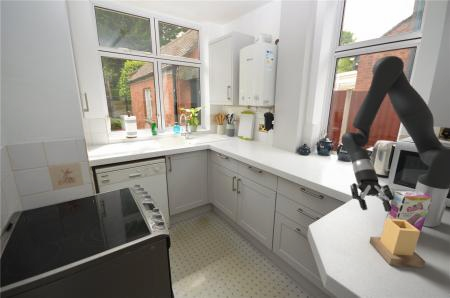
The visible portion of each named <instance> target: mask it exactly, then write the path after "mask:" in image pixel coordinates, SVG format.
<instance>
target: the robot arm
mask: <svg viewBox="0 0 450 298" xmlns="http://www.w3.org/2000/svg"><path fill="white" fill-rule="evenodd" d="M404 63H405V62H404V61H403V59H402V58H400V57H399V56H396V55H388V56H383V57H381V58H380V59H378V60H377V61H376V62H375V63H374V64H373V66H372V79H371V82H370V83H371V84H370V86H369V89H368V91H367V93H366V95H365V98H364V99H363V101H362V103H361V105H360V106H359V108H358V111H357V113H356V114H355V117H354V119H353V122H352V127H354V128H355V129H356V130H358V132H353V131H350V132H349V131H348V132H345V133H344V134H342V136H341V145H342V146H343V148H344V149H345V152H346V153H347V154H348V155H349V157H350V161H351V164H352V170H353V174H354V177H355V180H356V183H355V182H354V183H352V184H350V191H351V196H352V197H351V198H352V199H354V200H357V201H358V202H359V206H360V209H361V210H362V211H367V210H368V206H367V201H366V199H365V198H366V196H367V197H369V196H371V197H376V198H377V199H379V200H380V201H382V205H383V208H384V211H385V212H387V213H388V212H389V211H391V206H390V204H391V200H393V199H394V197H393V193H392V190H391V188H390V185H388V184H385V185H381V184H380V182H379V177H378V174H377V171H376V169H375V165H374V164H373V161H372V160H371V157H370V153H369V151H368V150H367V149H365V148H364V147H366V146H367V145H368V143H369V141H370V133H371V127H372V126H373V123H374V121H375V119H376V117H377V116H378V115H377V114H378V112H379V110H380V108H381V106H382V104H383V101H384V100H385V98H386V96H388V98H389V101H390V104H391V105H392V108H393V110H394V112H395V114H396V116H397V118H398V120H399V121H400V123H401V125H402V126H403V128H404V129H405V131H406V132H407V134H408V135H409V137H410V138H411V140H412V142H413V143H414V145H415V148H416V151H417V153H418V155H419V158H420V160H421V161H422V162H423V164H425V165H426V166H428V170H427V172H426V173H424V174H423V173H422V174H420V175H419V176H418V179H417V182H416V185H415V190H414V191H421V192H423V193H425V194H428V195H430V196H432V197H433V198H432V200H431V203H430V206H429V209H428V212H427V214H426V218H425V220H424V223H423V226H425V227H428V228H436V227H437V226H441V225H440V224H441V221H442V219H443V216H444V213H445V211H446V206H447V205H446V204H445V202H446V199H447V196H448V194H449V190H450V147H446V146H445V145H443V143H442V142H441V141H440V139H439V138H438V137H437V134H436V133H435V130H434V126H435V125H434V119H435V118H434V116H433V113H432V111H431V109H430V108H429V106H428V104H427V102H426V101H425V100H424V98H423V97H422V96H421V95H420V93H418V91H417V90H416V89H415V88H414V87H413V86H412V84H411V83H410V82H409V80H408V78H407V76H406V74H405V71H404V67H405V66H404ZM358 190H359V191H360V193H359V191H358ZM423 226H422V227H423Z"/></svg>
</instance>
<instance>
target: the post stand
mask: <svg viewBox="0 0 450 298" xmlns="http://www.w3.org/2000/svg"><path fill="white" fill-rule="evenodd" d="M380 239H381V236H379V237H378V236H370V238H369V242H368V243H369V244H370V245H371V246H372V248H374V250H375V251H376V252H377V253H378V254H379V255H380V256H381V258H382V259H383V260H384V261H385V262H386V263H387V265H389V266H399V267H410V268H420V269H421V268H422V269H423V268H424V266H425V263H426V260H424V258H422V256H421V255H419V254H418V253H416V251H414V253H413V256H410V255H397V254H392V253H391V252H390V251H389V250H388V249H387V248H386V247H385V246H384V245H383V244H382V243H381V242H380Z"/></svg>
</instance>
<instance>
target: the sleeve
mask: <svg viewBox="0 0 450 298" xmlns="http://www.w3.org/2000/svg"><path fill="white" fill-rule="evenodd" d="M383 225H384V226H383V229H382V232H381V236H380V237H381V239H380V242H381V243H382V244H383V245H384V246H385V247H386V248H387V249H388V250H389V251H390V252H391V253H392V254H397V255H410V256H413V253H414V252H415V251H416V247H417V244H418V240H419V237H420V234H421V232H420V231H419V230H418V229H416V228H415V227H414V226H412V225H411V224H410V223H408V222H407V221H406V220H400V219H386V218H385V221H384V224H383Z"/></svg>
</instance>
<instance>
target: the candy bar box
mask: <svg viewBox="0 0 450 298" xmlns="http://www.w3.org/2000/svg"><path fill="white" fill-rule="evenodd" d="M393 191H394V192H393V193H392V195H393V197H394V199H393V200H390V206H391V211H389V212H387V215H386V217H385V220H386V219H400V220H406V221H407V222H408V223H410V224H411V225H412V226H414V227H415V228H416V229H418V230H419V231H420V233H421V231H422V228H423V223H424V220H425V218H426V214H427V212H428V209H429V206H430V203H431V200H432V198H433V197H432V196H430V195H428V194H425V193H423V192H421V191H415V190H413V191H412V190H393Z"/></svg>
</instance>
